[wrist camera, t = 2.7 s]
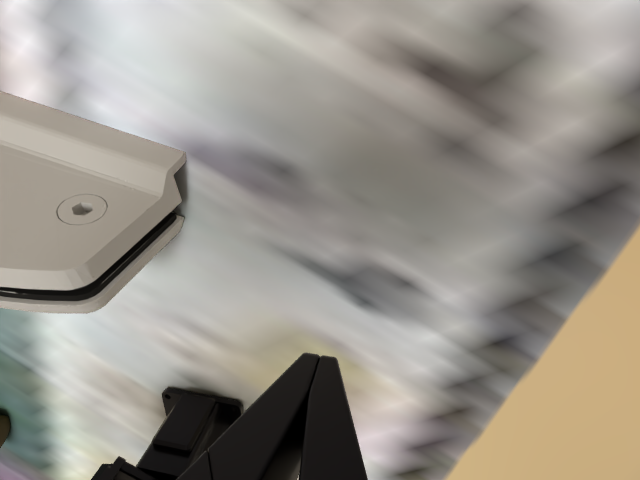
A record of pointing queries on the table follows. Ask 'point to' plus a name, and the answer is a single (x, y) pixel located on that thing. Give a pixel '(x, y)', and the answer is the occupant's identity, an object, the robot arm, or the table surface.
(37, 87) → the table surface
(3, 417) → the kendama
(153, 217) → the hinge
